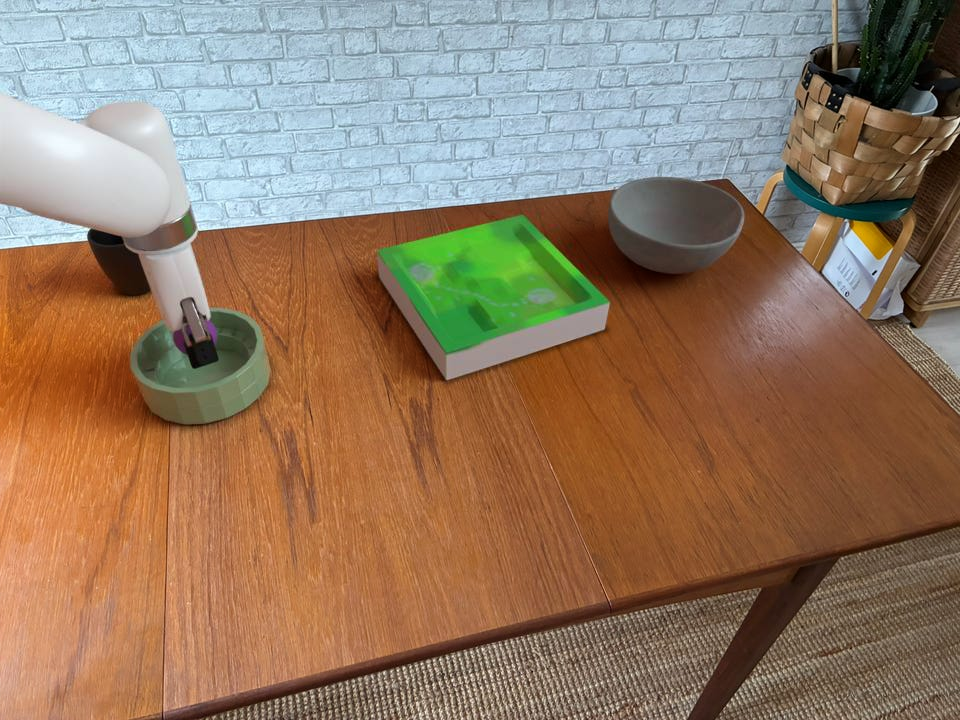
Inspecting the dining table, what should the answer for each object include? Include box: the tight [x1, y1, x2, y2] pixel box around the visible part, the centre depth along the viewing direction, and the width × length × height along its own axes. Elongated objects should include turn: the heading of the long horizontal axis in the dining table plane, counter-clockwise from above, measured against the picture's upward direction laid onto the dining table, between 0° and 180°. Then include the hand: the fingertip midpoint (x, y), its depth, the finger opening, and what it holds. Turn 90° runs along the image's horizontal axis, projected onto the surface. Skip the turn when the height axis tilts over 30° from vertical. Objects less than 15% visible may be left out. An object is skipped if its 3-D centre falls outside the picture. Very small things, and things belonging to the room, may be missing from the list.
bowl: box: [607, 176, 745, 275], centre depth 111 cm, size 20×20×10 cm
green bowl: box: [129, 307, 272, 425], centre depth 89 cm, size 16×16×6 cm
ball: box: [173, 318, 217, 355], centre depth 86 cm, size 5×5×5 cm
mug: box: [86, 228, 151, 297], centre depth 103 cm, size 8×12×10 cm
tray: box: [376, 214, 611, 381], centre depth 103 cm, size 25×25×5 cm
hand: (198, 349), depth 87 cm, fingers closed on ball, 4 cm apart
